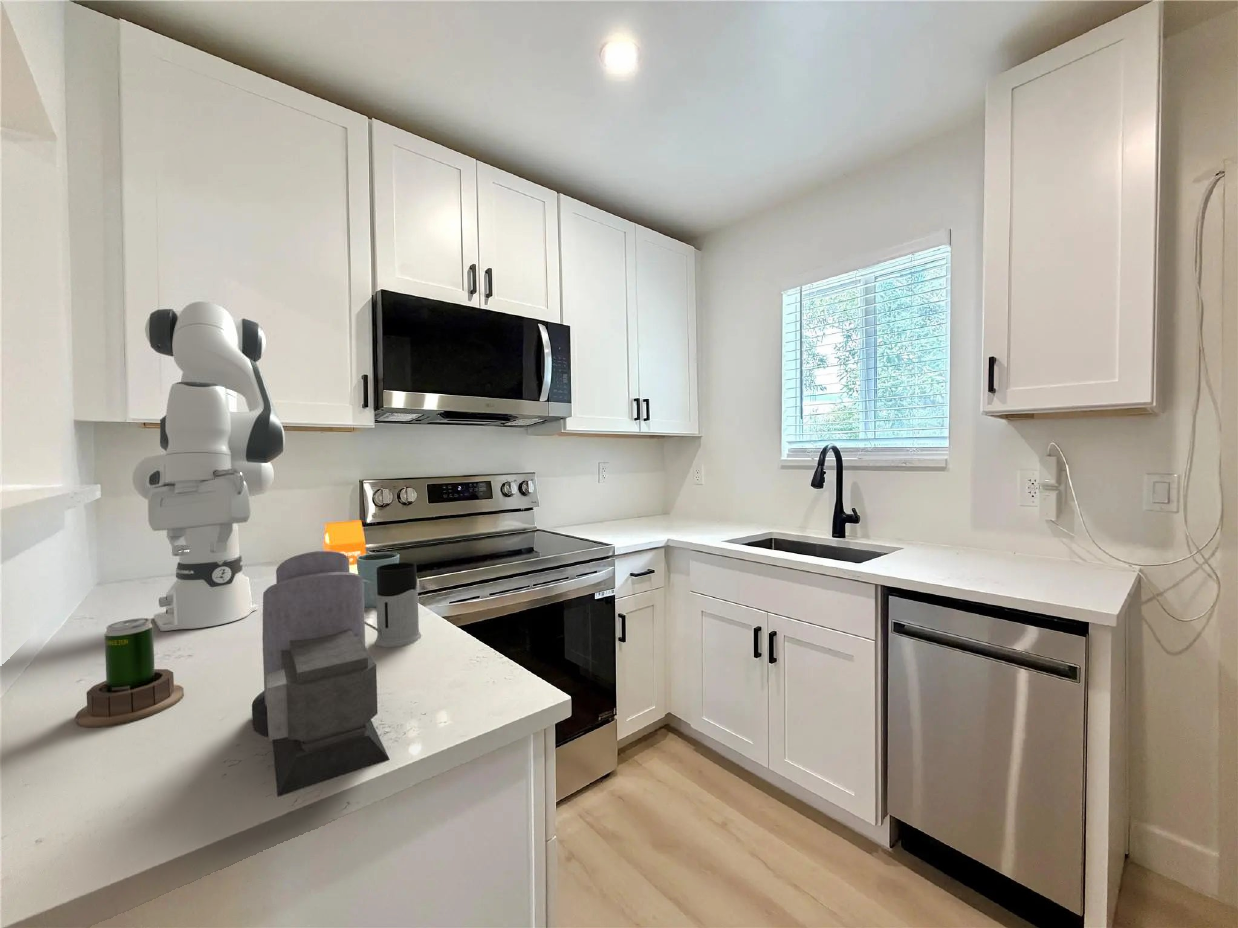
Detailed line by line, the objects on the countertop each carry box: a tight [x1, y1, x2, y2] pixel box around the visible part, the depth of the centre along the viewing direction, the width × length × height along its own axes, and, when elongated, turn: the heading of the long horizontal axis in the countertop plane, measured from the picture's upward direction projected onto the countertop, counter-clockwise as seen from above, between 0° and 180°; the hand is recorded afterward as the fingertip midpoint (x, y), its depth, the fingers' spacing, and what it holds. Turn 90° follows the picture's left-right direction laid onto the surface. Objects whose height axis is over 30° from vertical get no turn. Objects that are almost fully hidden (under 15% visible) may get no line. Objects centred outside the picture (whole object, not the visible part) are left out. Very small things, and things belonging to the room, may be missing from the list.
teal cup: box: [356, 551, 400, 608], centre depth 134 cm, size 10×10×12 cm
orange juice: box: [323, 519, 367, 574], centre depth 142 cm, size 8×9×20 cm
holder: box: [363, 562, 422, 648], centre depth 105 cm, size 9×14×15 cm, turn 146°
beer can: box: [104, 617, 156, 693], centre depth 80 cm, size 5×5×12 cm
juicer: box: [251, 550, 390, 798], centre depth 73 cm, size 30×16×24 cm, turn 35°
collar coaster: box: [75, 668, 185, 728], centre depth 80 cm, size 12×12×4 cm
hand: (199, 554), depth 88 cm, fingers open, 8 cm apart
